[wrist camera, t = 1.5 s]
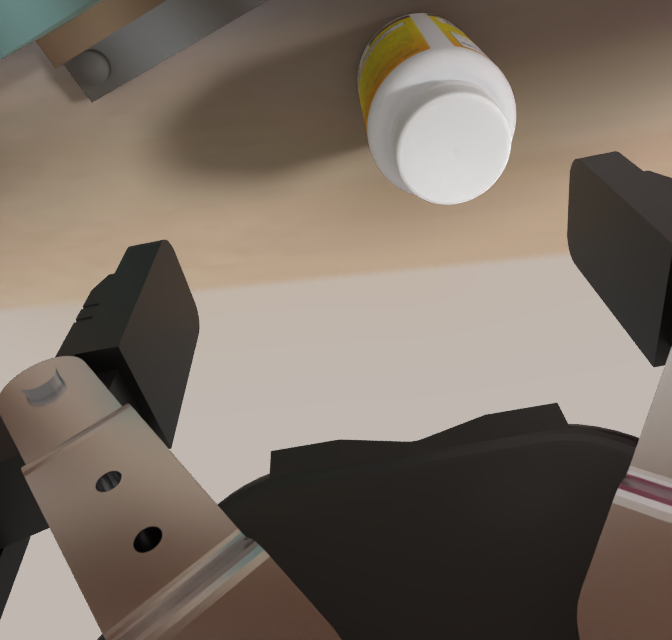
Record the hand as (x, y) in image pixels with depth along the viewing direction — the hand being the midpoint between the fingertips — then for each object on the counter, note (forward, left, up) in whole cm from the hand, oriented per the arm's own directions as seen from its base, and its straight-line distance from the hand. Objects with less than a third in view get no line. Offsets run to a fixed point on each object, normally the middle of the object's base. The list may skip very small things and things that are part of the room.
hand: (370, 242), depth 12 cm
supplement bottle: (-2, +3, -19) cm, 20 cm away
